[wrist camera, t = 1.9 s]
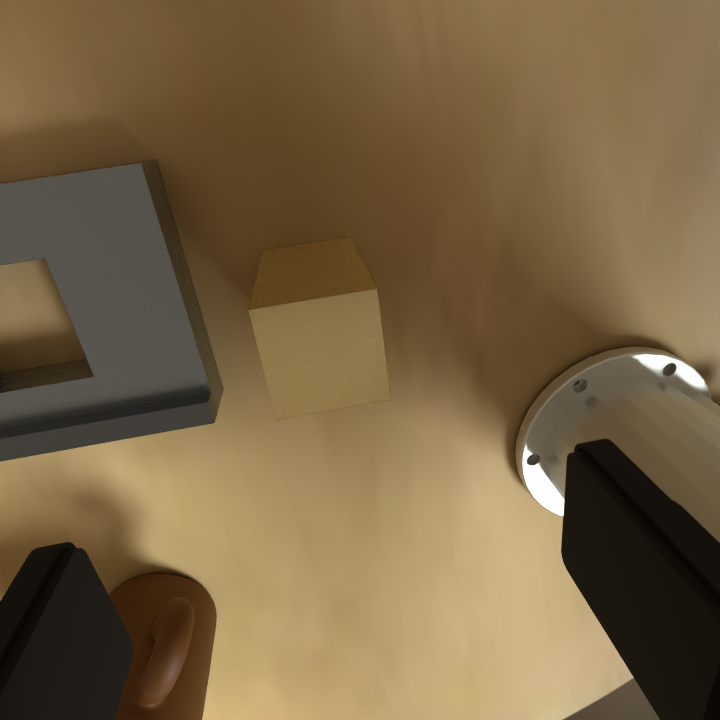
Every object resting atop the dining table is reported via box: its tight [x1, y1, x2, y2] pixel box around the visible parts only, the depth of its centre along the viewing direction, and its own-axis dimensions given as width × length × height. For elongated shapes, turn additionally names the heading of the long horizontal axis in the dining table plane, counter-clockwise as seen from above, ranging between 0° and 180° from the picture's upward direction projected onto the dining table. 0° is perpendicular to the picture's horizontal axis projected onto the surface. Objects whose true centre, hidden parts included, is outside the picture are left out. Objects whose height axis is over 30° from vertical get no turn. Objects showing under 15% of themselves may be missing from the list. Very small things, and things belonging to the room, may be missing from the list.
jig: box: [0, 160, 223, 461], centre depth 23 cm, size 16×12×4 cm
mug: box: [109, 574, 217, 720], centre depth 29 cm, size 12×8×9 cm, turn 153°
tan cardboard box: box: [248, 237, 391, 420], centre depth 22 cm, size 4×4×9 cm
